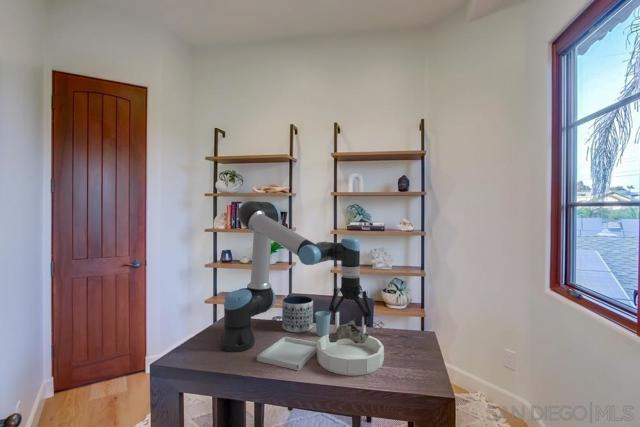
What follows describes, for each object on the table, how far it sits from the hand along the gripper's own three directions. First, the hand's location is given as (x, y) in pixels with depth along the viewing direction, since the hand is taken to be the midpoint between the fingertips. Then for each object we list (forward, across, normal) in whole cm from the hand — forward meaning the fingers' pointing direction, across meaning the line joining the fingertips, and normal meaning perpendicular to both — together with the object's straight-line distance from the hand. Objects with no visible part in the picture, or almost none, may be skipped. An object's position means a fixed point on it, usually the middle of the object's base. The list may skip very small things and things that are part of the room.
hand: (350, 330), depth 126 cm
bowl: (+12, 0, 0) cm, 12 cm away
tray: (+11, -24, -6) cm, 27 cm away
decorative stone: (+4, 0, -1) cm, 4 cm away
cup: (+12, -20, +19) cm, 30 cm away
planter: (+12, -36, +23) cm, 44 cm away
